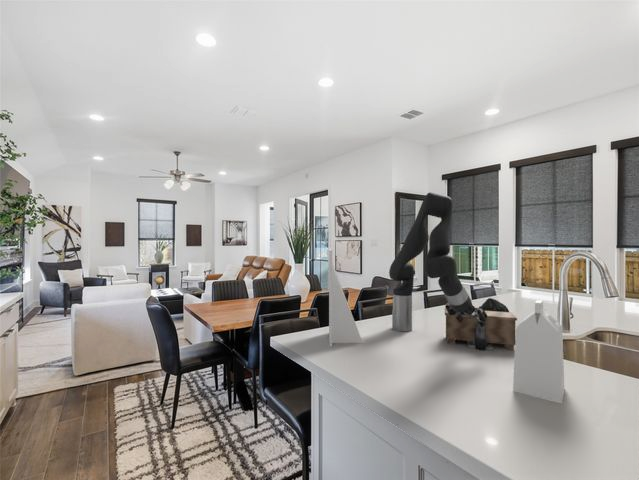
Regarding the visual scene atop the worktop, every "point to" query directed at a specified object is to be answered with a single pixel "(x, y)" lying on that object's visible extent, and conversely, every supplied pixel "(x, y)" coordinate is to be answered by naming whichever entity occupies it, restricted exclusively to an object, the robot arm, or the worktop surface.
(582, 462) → the worktop surface
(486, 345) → the joystick
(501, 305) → the squash
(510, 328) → the cabinet
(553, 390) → the milk
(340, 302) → the white bracket plate
